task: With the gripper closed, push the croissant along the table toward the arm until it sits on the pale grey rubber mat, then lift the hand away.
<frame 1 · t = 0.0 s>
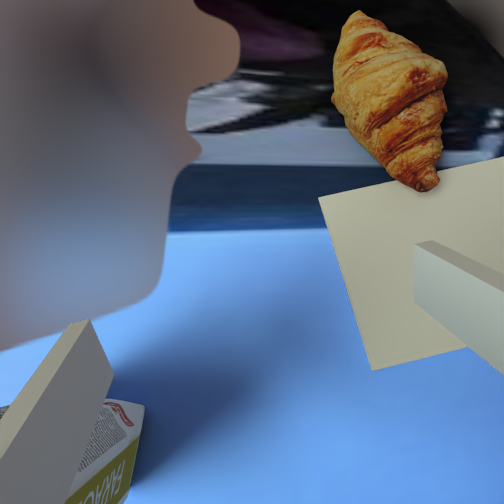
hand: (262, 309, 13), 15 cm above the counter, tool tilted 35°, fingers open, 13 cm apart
juice carton: (97, 439, 26), on the counter
croissant: (379, 111, 33), on the counter, touching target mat
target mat: (468, 249, 29), on the counter
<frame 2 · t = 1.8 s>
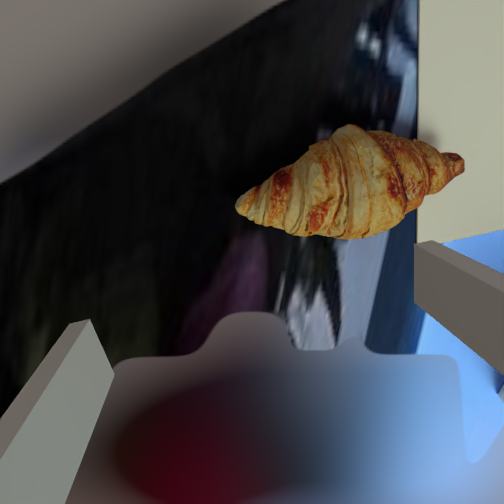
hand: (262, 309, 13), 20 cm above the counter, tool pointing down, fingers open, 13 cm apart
croissant: (339, 180, 31), on the counter, touching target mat
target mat: (495, 116, 31), on the counter
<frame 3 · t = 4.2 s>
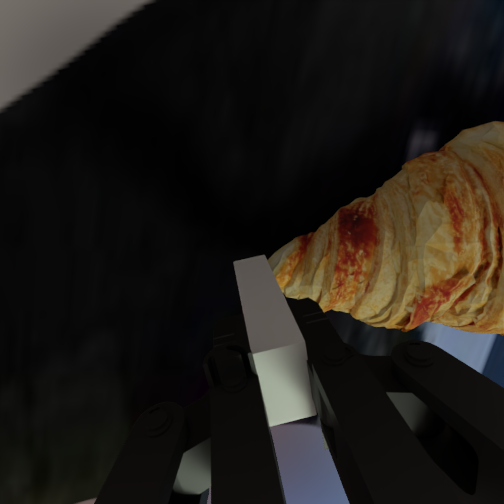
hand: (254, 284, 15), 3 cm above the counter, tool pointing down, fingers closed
croissant: (439, 219, 18), on the counter, touching gripper, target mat
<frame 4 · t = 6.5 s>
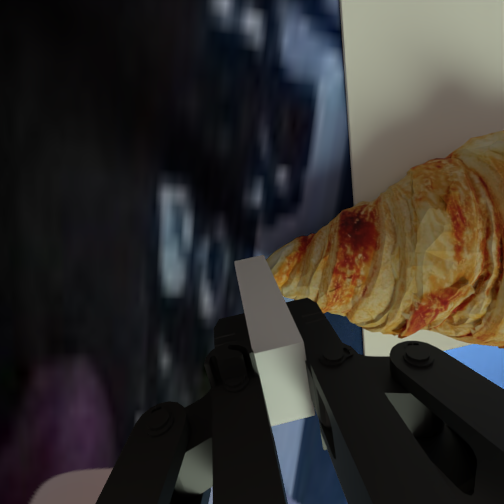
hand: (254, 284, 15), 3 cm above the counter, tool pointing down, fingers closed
croissant: (442, 227, 18), on the counter, touching gripper
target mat: (497, 156, 17), on the counter
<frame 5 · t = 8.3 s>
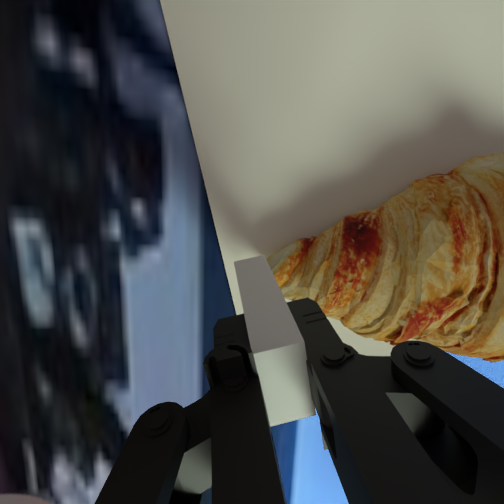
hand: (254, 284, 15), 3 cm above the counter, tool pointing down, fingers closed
croissant: (435, 242, 18), on the counter, touching gripper, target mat
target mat: (361, 186, 17), on the counter
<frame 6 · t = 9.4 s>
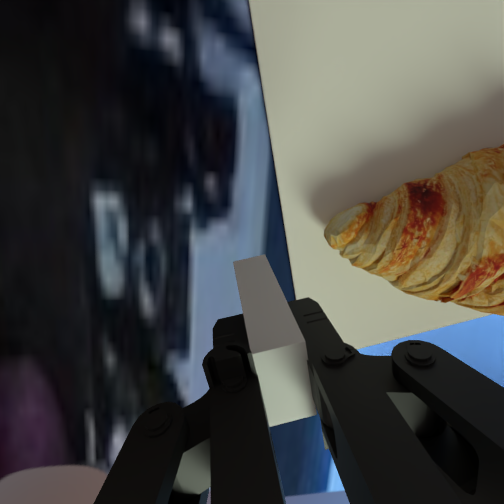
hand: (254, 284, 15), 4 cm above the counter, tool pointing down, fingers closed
croissant: (474, 215, 20), on the counter, touching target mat
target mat: (413, 161, 18), on the counter
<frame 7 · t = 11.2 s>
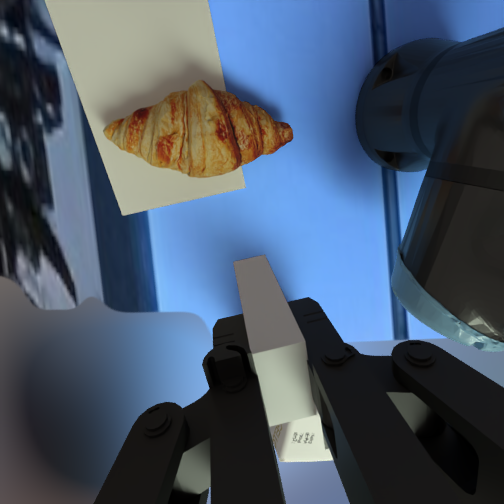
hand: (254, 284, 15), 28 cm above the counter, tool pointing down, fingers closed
juice carton: (274, 330, 50), on the counter
croissant: (200, 131, 38), on the counter, touching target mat
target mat: (156, 99, 36), on the counter
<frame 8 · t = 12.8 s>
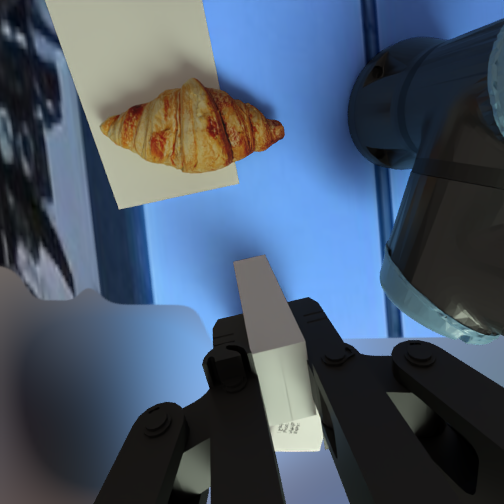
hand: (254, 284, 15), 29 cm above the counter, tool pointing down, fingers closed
juice carton: (267, 325, 51), on the counter
croissant: (195, 128, 39), on the counter, touching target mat
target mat: (152, 96, 38), on the counter
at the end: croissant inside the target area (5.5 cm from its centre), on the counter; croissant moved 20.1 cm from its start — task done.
